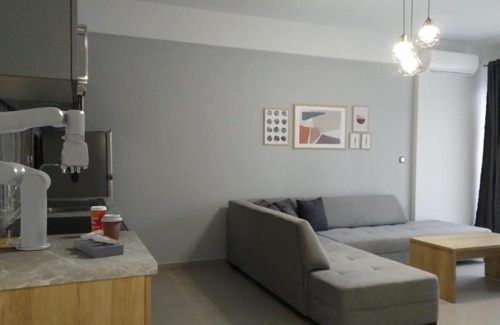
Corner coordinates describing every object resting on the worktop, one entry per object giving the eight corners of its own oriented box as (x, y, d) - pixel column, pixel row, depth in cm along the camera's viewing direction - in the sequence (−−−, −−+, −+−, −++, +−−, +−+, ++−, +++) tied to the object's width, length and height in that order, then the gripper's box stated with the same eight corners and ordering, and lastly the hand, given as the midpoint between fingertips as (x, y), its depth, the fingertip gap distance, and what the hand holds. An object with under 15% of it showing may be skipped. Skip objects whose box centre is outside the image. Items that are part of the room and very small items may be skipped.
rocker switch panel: (95, 258, 155) (95, 246, 155) (74, 247, 173) (74, 237, 173) (123, 254, 162) (123, 243, 162) (100, 244, 180) (100, 234, 180)
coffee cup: (121, 239, 194) (121, 213, 194) (122, 242, 185) (123, 216, 185) (100, 240, 190) (101, 214, 190) (100, 243, 182) (101, 216, 182)
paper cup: (87, 235, 203) (87, 206, 203) (102, 233, 208) (103, 205, 208) (93, 237, 197) (94, 207, 197) (109, 235, 203) (109, 207, 203)
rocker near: (96, 241, 158) (97, 237, 158) (92, 239, 162) (93, 236, 162) (116, 243, 163) (117, 240, 163) (111, 242, 167) (112, 238, 167)
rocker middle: (90, 238, 163) (90, 235, 164) (86, 237, 167) (87, 233, 167) (109, 240, 169) (110, 237, 169) (105, 239, 172) (106, 236, 172)
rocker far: (84, 240, 169) (84, 237, 169) (81, 238, 172) (80, 235, 172) (103, 233, 174) (102, 230, 174) (99, 232, 177) (99, 229, 177)
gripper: (59, 138, 168) (58, 183, 168) (95, 139, 178) (95, 182, 178) (53, 138, 174) (53, 182, 174) (89, 140, 184) (89, 181, 184)
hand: (74, 182), depth 176 cm, fingers closed
